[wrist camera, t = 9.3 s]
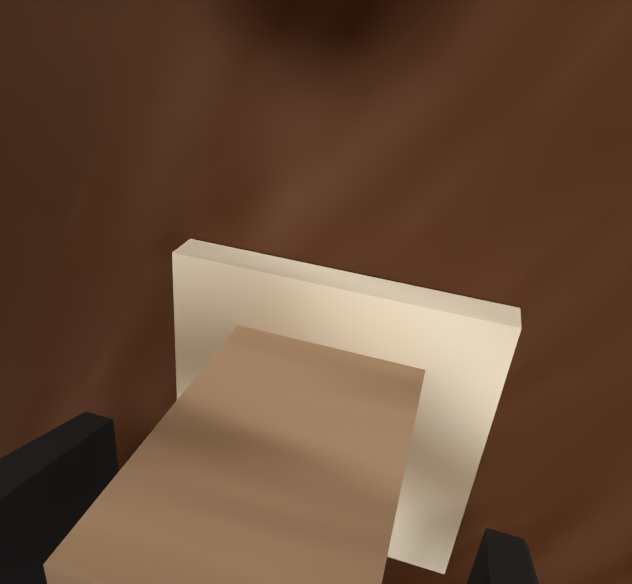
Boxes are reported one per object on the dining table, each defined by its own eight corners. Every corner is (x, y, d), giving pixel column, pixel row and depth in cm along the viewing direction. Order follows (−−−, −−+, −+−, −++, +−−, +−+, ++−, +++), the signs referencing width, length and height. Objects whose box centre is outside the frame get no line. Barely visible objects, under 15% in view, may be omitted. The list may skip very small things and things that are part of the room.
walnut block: (394, 509, 13) (325, 834, 8) (234, 462, 14) (79, 730, 9) (425, 370, 11) (361, 679, 6) (237, 324, 12) (43, 564, 7)
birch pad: (447, 547, 14) (444, 574, 14) (194, 470, 16) (179, 491, 15) (519, 308, 11) (521, 328, 10) (190, 238, 12) (172, 252, 12)
